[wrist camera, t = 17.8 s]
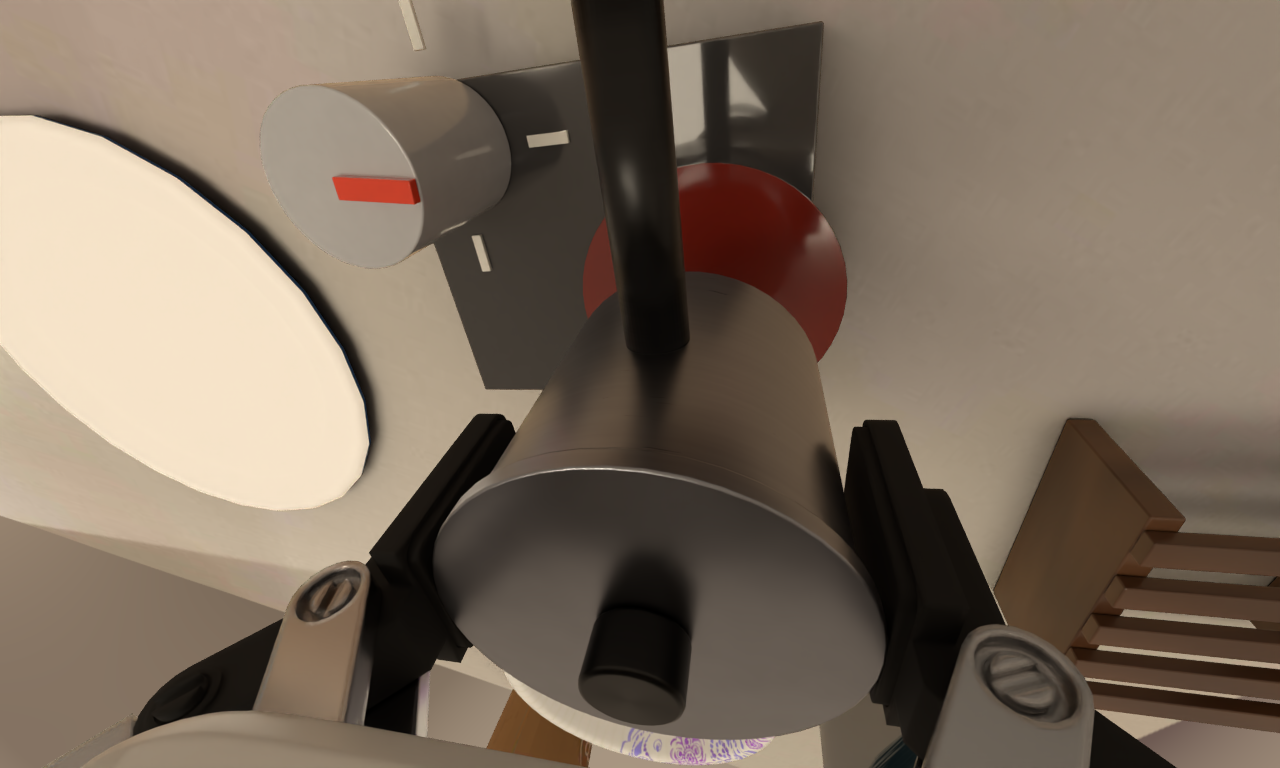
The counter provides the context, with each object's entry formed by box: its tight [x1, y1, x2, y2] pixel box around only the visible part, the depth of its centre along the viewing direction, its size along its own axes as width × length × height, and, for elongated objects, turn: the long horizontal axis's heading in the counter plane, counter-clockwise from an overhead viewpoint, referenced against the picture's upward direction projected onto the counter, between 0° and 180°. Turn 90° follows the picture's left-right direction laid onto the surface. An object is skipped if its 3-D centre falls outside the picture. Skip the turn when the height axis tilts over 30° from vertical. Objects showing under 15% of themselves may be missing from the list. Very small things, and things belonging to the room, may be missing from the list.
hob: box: [398, 0, 824, 390], centre depth 18 cm, size 14×16×3 cm
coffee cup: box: [486, 689, 592, 768], centre depth 35 cm, size 8×8×15 cm
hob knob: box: [260, 76, 511, 269], centre depth 15 cm, size 4×4×6 cm
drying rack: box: [994, 419, 1280, 733], centre depth 20 cm, size 12×12×6 cm
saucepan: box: [432, 0, 888, 740], centre depth 9 cm, size 7×13×8 cm, turn 7°
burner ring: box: [583, 162, 847, 363], centre depth 18 cm, size 10×10×1 cm
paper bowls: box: [503, 670, 775, 765], centre depth 29 cm, size 15×15×8 cm
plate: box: [0, 115, 371, 511], centre depth 29 cm, size 25×25×1 cm
